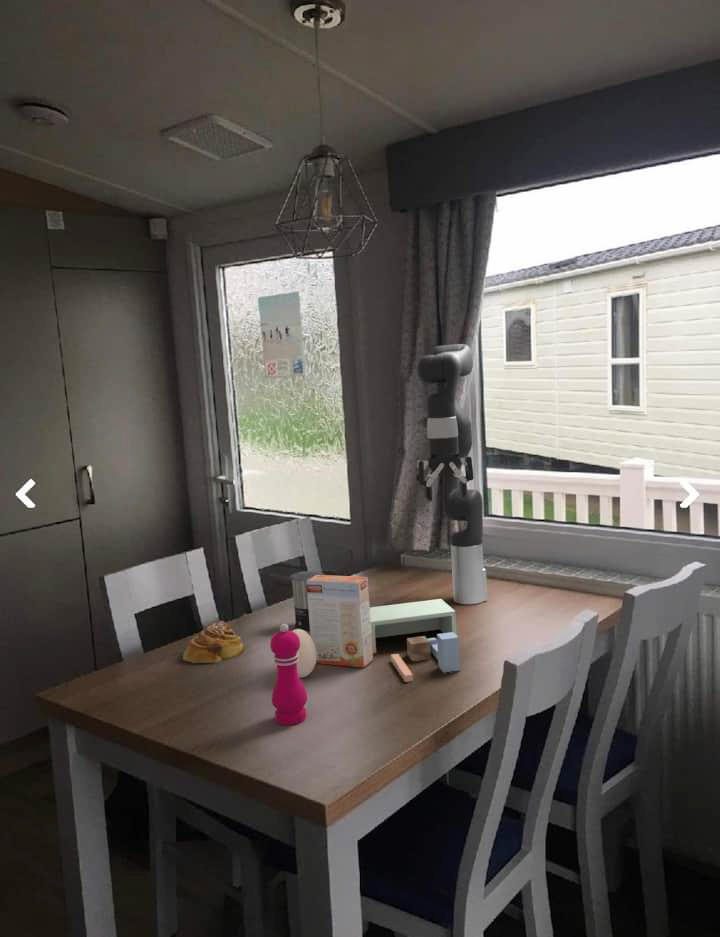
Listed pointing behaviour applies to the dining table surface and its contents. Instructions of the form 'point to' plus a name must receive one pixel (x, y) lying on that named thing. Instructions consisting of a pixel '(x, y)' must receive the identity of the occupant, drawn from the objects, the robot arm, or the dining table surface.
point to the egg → (305, 653)
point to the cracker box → (340, 620)
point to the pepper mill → (287, 679)
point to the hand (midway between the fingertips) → (446, 499)
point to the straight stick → (401, 667)
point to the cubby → (411, 619)
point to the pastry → (214, 645)
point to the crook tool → (446, 651)
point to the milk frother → (302, 598)
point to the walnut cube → (418, 648)
